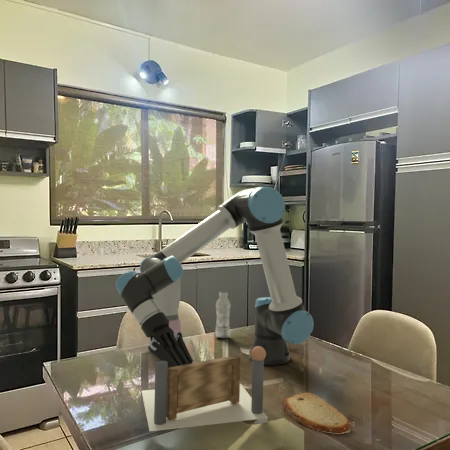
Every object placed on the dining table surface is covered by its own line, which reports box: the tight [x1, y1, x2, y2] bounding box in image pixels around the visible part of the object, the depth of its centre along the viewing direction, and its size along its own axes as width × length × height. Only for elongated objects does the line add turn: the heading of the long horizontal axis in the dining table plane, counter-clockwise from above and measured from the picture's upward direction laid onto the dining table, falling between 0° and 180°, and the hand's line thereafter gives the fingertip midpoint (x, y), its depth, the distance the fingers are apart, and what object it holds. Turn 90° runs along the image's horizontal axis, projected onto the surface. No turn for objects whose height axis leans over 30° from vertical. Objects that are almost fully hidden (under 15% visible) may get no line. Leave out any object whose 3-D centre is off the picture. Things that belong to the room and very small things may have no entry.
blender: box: [149, 277, 182, 346], centre depth 165 cm, size 16×12×32 cm
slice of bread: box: [282, 391, 351, 433], centre depth 112 cm, size 18×18×4 cm
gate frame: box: [141, 346, 269, 432], centre depth 114 cm, size 30×24×18 cm
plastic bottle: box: [214, 291, 231, 339], centre depth 182 cm, size 6×7×20 cm
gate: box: [166, 354, 241, 420], centre depth 110 cm, size 21×2×12 cm, turn 122°
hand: (198, 390), depth 111 cm, fingers closed
